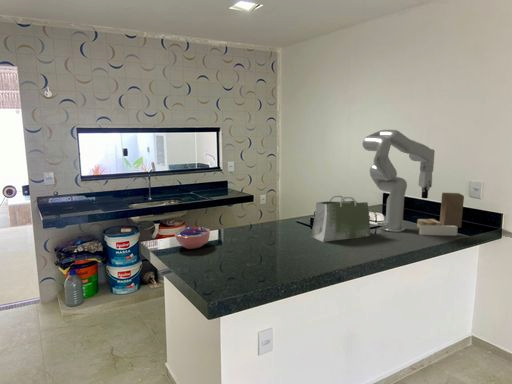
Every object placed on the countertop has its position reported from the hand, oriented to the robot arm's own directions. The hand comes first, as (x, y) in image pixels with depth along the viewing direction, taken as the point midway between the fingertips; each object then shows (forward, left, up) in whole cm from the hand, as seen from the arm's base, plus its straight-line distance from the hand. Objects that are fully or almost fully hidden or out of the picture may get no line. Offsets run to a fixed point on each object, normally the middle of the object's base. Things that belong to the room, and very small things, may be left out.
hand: (424, 198), depth 238 cm
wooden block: (+16, -3, -17) cm, 23 cm away
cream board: (0, -24, -17) cm, 29 cm away
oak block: (0, -11, -17) cm, 20 cm away
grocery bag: (-56, -31, -17) cm, 66 cm away
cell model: (-134, -57, -17) cm, 147 cm away
